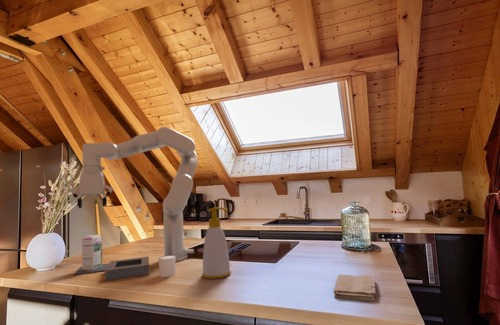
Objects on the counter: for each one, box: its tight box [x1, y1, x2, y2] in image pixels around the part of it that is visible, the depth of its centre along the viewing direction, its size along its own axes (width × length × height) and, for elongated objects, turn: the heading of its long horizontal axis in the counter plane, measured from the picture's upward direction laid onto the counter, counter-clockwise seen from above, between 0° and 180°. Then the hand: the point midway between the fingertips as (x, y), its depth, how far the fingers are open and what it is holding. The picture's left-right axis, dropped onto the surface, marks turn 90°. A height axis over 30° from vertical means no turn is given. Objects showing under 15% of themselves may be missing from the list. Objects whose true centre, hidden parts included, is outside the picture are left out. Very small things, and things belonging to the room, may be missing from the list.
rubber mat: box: [73, 262, 110, 276], centre depth 129 cm, size 12×12×1 cm
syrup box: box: [81, 234, 103, 270], centre depth 129 cm, size 6×6×14 cm
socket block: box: [104, 256, 150, 282], centre depth 121 cm, size 16×16×4 cm
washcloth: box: [333, 274, 376, 302], centre depth 90 cm, size 12×18×3 cm, turn 159°
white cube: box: [157, 256, 177, 278], centre depth 115 cm, size 7×7×7 cm
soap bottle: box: [201, 206, 232, 280], centre depth 113 cm, size 11×12×26 cm
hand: (92, 207), depth 131 cm, fingers open, 9 cm apart
